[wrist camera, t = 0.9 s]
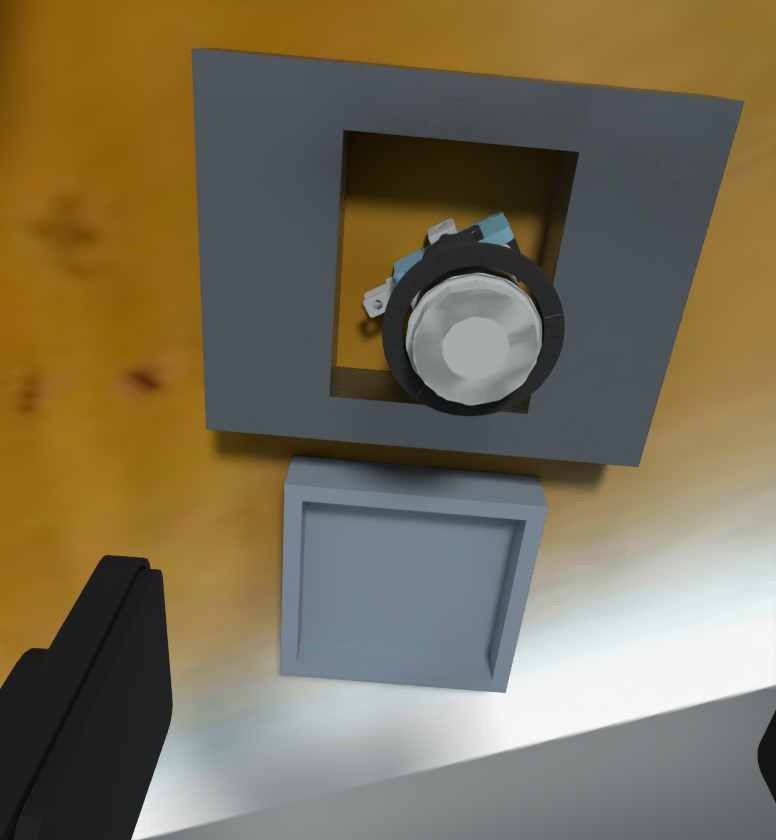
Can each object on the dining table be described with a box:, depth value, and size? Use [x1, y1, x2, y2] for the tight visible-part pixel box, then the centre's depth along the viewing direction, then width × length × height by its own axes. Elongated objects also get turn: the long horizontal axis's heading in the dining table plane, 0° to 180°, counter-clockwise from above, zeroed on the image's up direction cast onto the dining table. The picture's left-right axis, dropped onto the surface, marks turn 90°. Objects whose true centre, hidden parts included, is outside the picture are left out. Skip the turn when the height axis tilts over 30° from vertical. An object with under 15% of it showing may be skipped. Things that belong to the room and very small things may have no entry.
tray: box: [281, 455, 548, 693], centre depth 35 cm, size 12×12×2 cm
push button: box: [363, 212, 565, 416], centre depth 25 cm, size 7×5×10 cm
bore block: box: [192, 48, 745, 467], centre depth 28 cm, size 18×14×3 cm
